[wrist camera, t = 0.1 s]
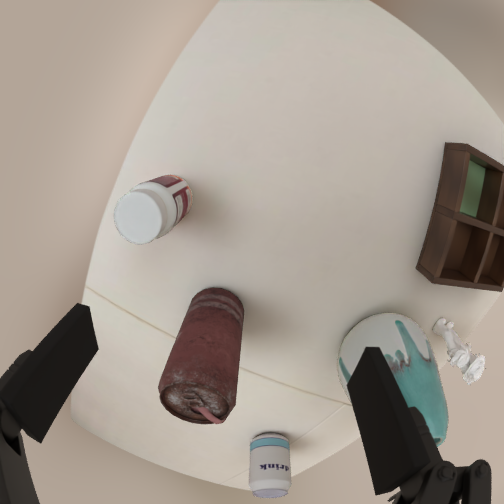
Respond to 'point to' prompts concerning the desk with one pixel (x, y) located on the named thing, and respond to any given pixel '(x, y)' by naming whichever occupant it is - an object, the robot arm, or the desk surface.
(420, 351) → the vase
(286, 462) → the beverage can
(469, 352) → the flower shoulder figurine
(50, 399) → the robot arm
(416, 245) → the desk surface
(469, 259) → the holder
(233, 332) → the red cylinder
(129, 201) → the pill bottle
